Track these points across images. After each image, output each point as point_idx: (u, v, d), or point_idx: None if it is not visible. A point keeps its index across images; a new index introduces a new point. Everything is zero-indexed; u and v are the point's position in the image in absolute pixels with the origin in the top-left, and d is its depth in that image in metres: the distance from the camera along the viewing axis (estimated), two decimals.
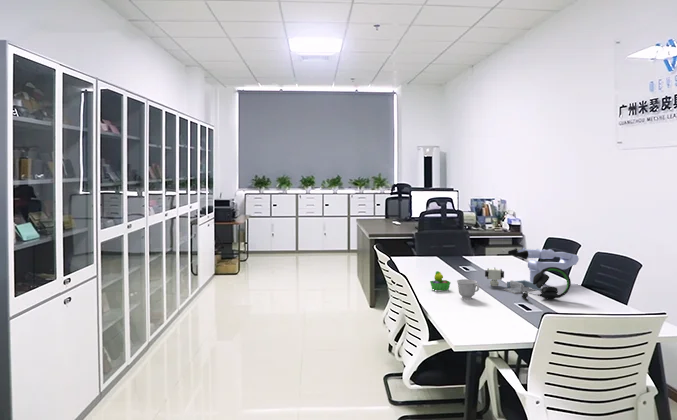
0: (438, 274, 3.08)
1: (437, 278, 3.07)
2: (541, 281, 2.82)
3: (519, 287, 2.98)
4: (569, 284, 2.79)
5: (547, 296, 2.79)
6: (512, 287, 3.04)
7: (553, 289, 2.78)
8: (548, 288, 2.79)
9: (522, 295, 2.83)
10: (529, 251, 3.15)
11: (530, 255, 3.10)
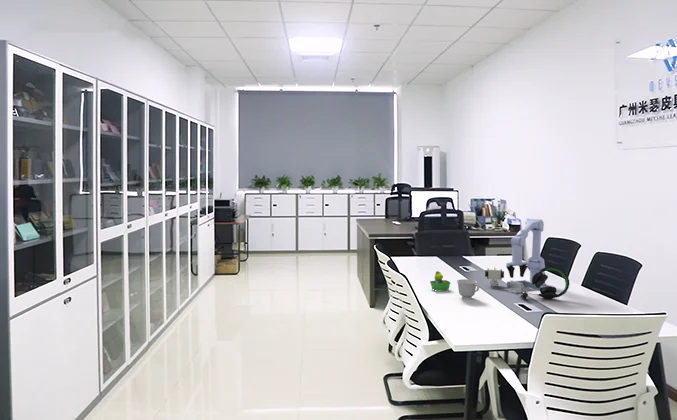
0: (438, 274, 3.08)
1: (437, 278, 3.07)
2: (540, 281, 2.82)
3: (519, 287, 2.98)
4: (568, 284, 2.80)
5: (546, 296, 2.80)
6: (512, 287, 3.04)
7: (552, 289, 2.79)
8: (547, 288, 2.80)
9: (521, 295, 2.83)
10: None
11: None
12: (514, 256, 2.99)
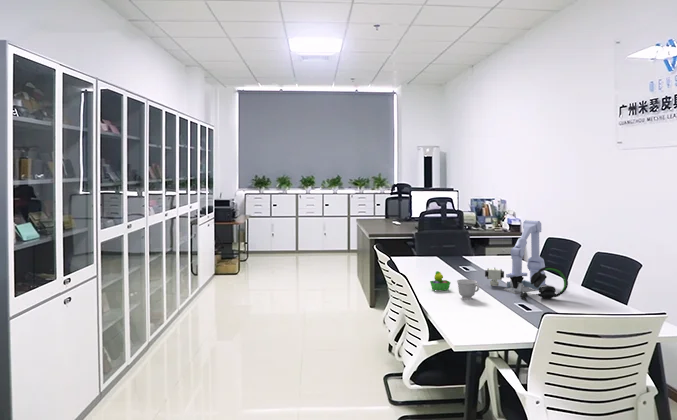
0: (438, 274, 3.08)
1: (437, 278, 3.07)
2: (539, 281, 2.82)
3: (519, 287, 2.98)
4: (566, 283, 2.81)
5: (546, 296, 2.80)
6: (512, 287, 3.04)
7: (551, 288, 2.80)
8: (546, 288, 2.80)
9: (521, 295, 2.83)
10: (521, 270, 3.00)
11: None
12: (514, 267, 2.99)
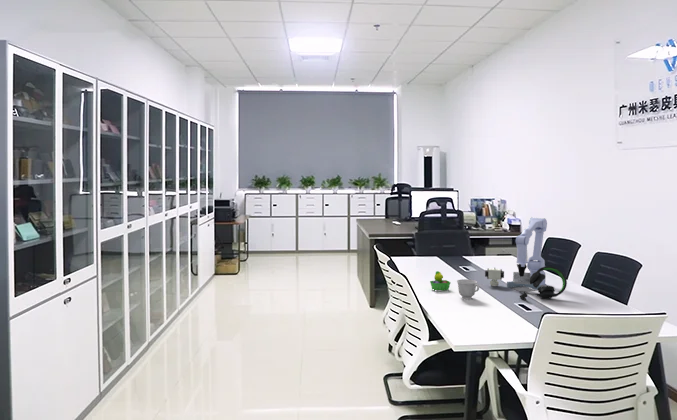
0: (438, 274, 3.08)
1: (437, 278, 3.07)
2: (539, 281, 2.83)
3: (528, 277, 3.04)
4: (565, 283, 2.82)
5: (545, 295, 2.81)
6: (517, 278, 3.05)
7: (551, 288, 2.80)
8: (546, 287, 2.81)
9: (520, 295, 2.83)
10: None
11: None
12: (523, 255, 3.01)
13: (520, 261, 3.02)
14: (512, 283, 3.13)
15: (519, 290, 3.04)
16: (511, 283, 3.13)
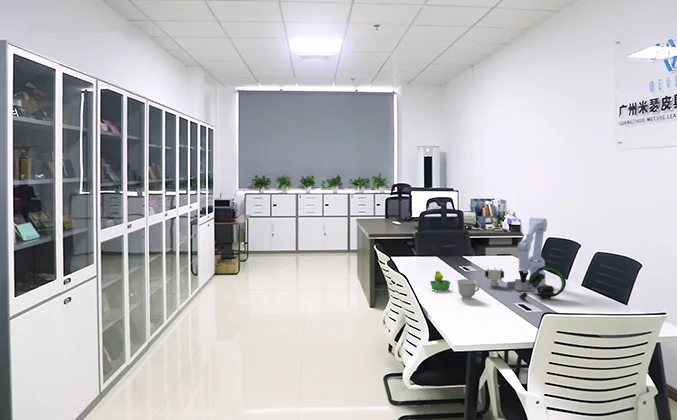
0: (438, 274, 3.08)
1: (437, 278, 3.07)
2: (538, 280, 2.83)
3: (529, 284, 3.05)
4: (564, 283, 2.83)
5: (544, 295, 2.81)
6: (518, 285, 3.07)
7: (550, 288, 2.81)
8: (545, 287, 2.81)
9: (520, 295, 2.83)
10: None
11: None
12: (525, 262, 3.03)
13: (522, 267, 3.04)
14: (512, 283, 3.13)
15: None
16: (511, 283, 3.13)
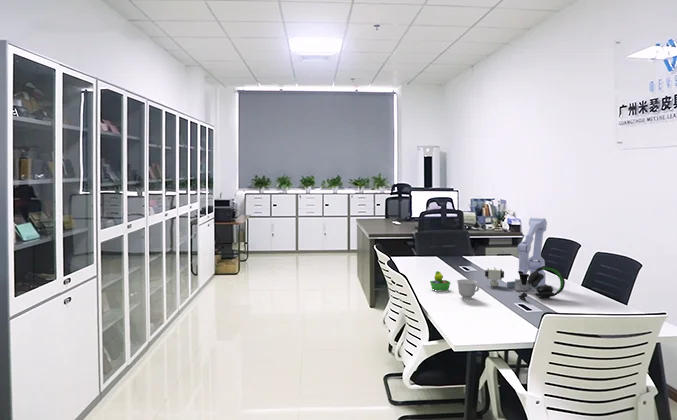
0: (438, 274, 3.08)
1: (437, 278, 3.07)
2: (537, 280, 2.83)
3: (529, 284, 3.05)
4: (563, 282, 2.84)
5: (544, 295, 2.81)
6: (518, 285, 3.07)
7: (549, 288, 2.81)
8: (545, 287, 2.81)
9: (520, 295, 2.83)
10: None
11: None
12: (525, 263, 3.03)
13: (522, 269, 3.04)
14: (512, 283, 3.13)
15: None
16: (511, 283, 3.13)
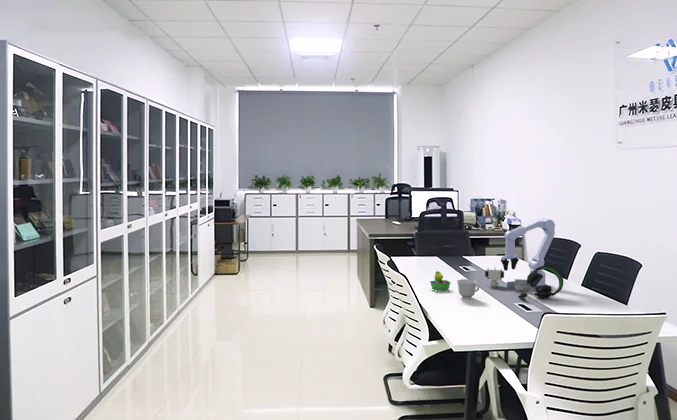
0: (438, 274, 3.08)
1: (437, 278, 3.07)
2: (537, 280, 2.84)
3: (529, 284, 3.05)
4: (562, 282, 2.85)
5: (543, 295, 2.82)
6: (518, 285, 3.07)
7: (549, 288, 2.82)
8: (544, 287, 2.82)
9: (519, 295, 2.83)
10: None
11: None
12: (508, 250, 3.17)
13: (505, 255, 3.19)
14: (512, 283, 3.13)
15: None
16: (511, 283, 3.13)
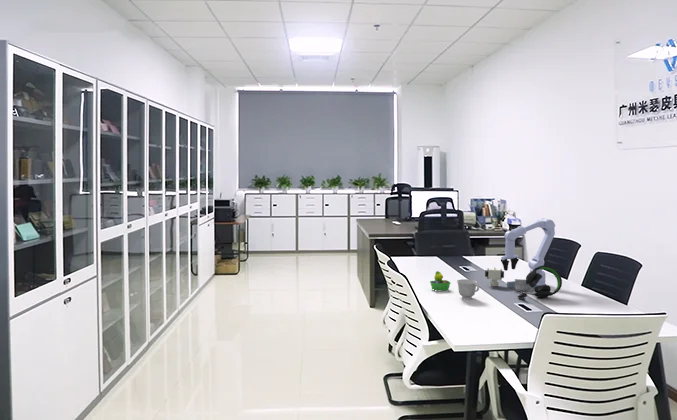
0: (438, 274, 3.08)
1: (437, 278, 3.07)
2: (536, 280, 2.84)
3: None
4: (560, 282, 2.86)
5: (542, 295, 2.82)
6: (518, 285, 3.07)
7: (548, 287, 2.82)
8: (543, 287, 2.82)
9: (519, 295, 2.83)
10: None
11: None
12: (508, 250, 3.17)
13: (505, 255, 3.19)
14: (512, 283, 3.13)
15: None
16: (511, 283, 3.13)
